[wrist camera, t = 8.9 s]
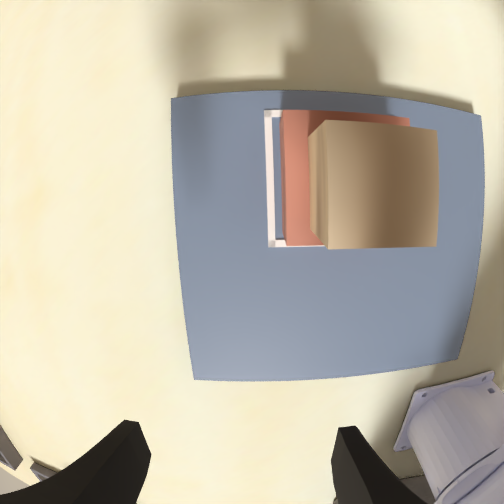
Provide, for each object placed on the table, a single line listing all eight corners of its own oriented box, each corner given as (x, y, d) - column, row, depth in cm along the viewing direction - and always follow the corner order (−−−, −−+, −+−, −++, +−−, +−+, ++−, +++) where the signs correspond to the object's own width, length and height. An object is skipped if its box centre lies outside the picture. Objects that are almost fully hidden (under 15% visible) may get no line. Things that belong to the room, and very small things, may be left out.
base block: (383, 128, 15) (409, 118, 12) (384, 231, 16) (409, 243, 13) (279, 124, 15) (282, 109, 12) (282, 232, 17) (286, 246, 13)
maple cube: (392, 141, 12) (437, 130, 8) (393, 227, 13) (436, 246, 9) (307, 137, 12) (325, 119, 8) (310, 228, 13) (327, 249, 9)
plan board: (472, 117, 15) (481, 115, 14) (451, 353, 19) (457, 359, 18) (175, 102, 16) (170, 97, 15) (196, 371, 20) (193, 380, 19)
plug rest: (131, 497, 26) (128, 505, 25) (154, 529, 29) (152, 535, 28) (34, 462, 27) (29, 468, 26) (64, 500, 30) (61, 505, 28)
